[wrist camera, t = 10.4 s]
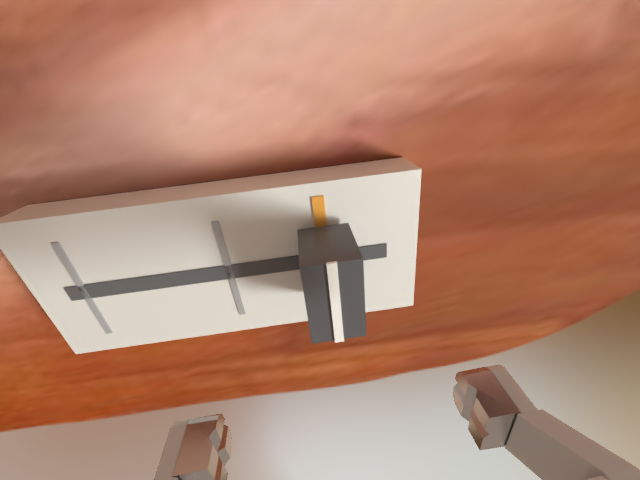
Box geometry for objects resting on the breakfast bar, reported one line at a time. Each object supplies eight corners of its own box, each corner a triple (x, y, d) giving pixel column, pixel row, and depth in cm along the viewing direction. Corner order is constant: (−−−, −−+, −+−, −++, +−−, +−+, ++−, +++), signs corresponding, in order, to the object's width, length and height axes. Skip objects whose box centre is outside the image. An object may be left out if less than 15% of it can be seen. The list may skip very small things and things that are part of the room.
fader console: (99, 323, 23) (74, 355, 21) (26, 205, 19) (-19, 226, 16) (399, 281, 24) (413, 306, 21) (403, 156, 19) (422, 169, 17)
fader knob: (307, 297, 20) (312, 346, 16) (297, 228, 17) (299, 268, 14) (352, 290, 20) (366, 337, 16) (348, 222, 17) (363, 259, 14)
